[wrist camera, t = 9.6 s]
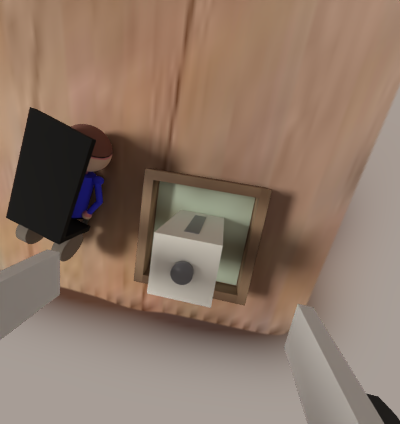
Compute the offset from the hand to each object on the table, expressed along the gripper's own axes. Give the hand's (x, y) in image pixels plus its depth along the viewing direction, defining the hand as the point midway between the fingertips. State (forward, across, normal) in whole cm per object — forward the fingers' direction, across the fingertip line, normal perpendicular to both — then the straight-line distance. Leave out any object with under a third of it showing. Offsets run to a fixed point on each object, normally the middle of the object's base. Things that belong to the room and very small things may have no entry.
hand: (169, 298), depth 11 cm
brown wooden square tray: (+14, 0, -1) cm, 14 cm away
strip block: (+13, 0, -1) cm, 13 cm away
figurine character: (+14, -15, +2) cm, 21 cm away
